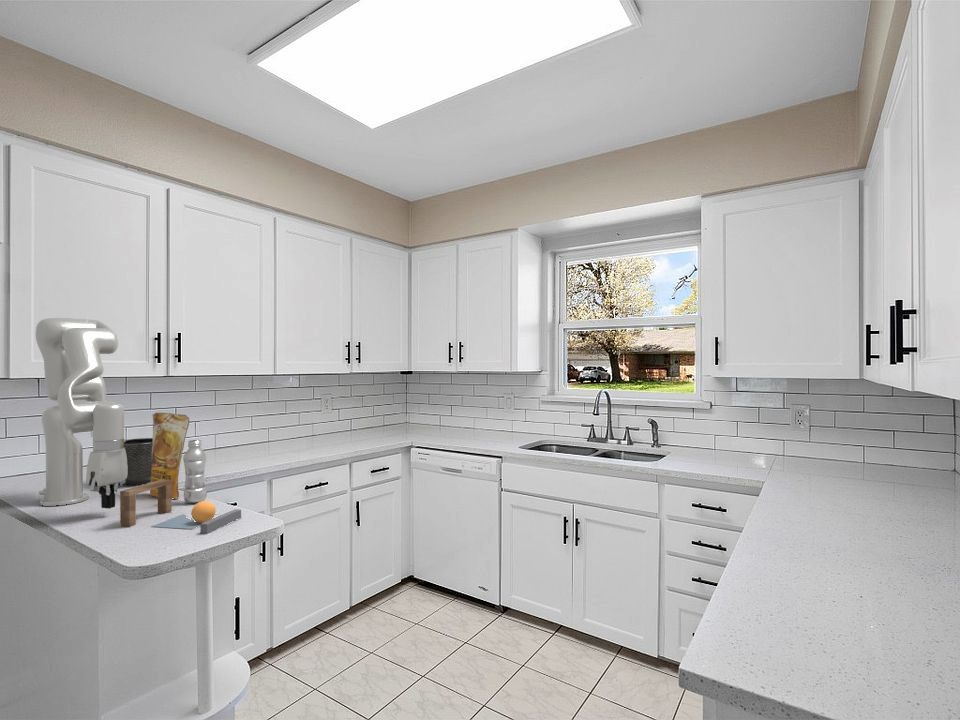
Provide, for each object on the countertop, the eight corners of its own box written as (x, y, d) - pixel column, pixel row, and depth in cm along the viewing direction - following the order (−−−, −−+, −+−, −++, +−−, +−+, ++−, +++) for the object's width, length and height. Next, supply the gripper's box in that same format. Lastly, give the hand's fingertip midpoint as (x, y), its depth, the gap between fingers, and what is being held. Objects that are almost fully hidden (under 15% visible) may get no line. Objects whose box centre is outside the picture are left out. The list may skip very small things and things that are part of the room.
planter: (137, 490, 188) (137, 445, 188) (96, 488, 191) (95, 444, 191) (173, 479, 205) (173, 438, 205) (135, 478, 208) (134, 437, 208)
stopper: (200, 533, 139) (200, 523, 139) (235, 517, 153) (235, 509, 153) (207, 533, 139) (207, 524, 139) (241, 518, 152) (241, 509, 152)
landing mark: (151, 527, 145) (151, 526, 145) (186, 513, 158) (186, 512, 158) (192, 529, 142) (192, 528, 142) (224, 515, 155) (224, 515, 155)
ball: (199, 529, 145) (183, 518, 146) (214, 523, 151) (198, 512, 152) (208, 511, 145) (191, 499, 146) (223, 505, 151) (207, 494, 152)
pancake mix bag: (163, 490, 187) (162, 411, 187) (192, 497, 177) (191, 414, 177) (142, 494, 182) (141, 413, 182) (171, 502, 171) (170, 415, 171)
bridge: (120, 526, 146) (120, 491, 146) (163, 511, 160) (162, 479, 160) (129, 526, 145) (129, 491, 145) (171, 511, 160) (171, 479, 160)
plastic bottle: (211, 500, 172) (211, 439, 172) (194, 506, 166) (193, 442, 166) (196, 499, 174) (195, 438, 174) (178, 504, 168) (178, 441, 168)
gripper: (119, 440, 163) (119, 499, 164) (73, 449, 149) (73, 514, 149) (140, 442, 162) (140, 501, 162) (96, 450, 147) (95, 516, 148)
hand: (108, 507), depth 156 cm, fingers closed
